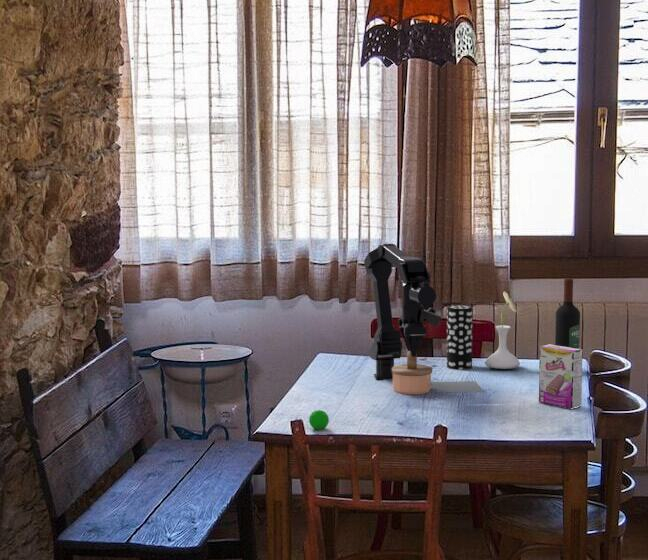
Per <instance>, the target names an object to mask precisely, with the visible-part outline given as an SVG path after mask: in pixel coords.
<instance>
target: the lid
mask: <svg viewBox="0 0 648 560" xmlns="http://www.w3.org/2000/svg"><path fill="white" fill-rule="evenodd" d="M417 354H418V353H417ZM417 354H416V357H412V355H411V352H410V351H408V350H407V352H406V356H407V357H406V359H407V363H405V364H399V365H394V367H392V373H394V374H397V375H403V376H423V375H428V374H431V375H432V374H433V367H432V366H429V365H425V364H418V363H417V362H418V359H417V357H418V355H417Z"/></svg>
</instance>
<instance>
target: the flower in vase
mask: <svg viewBox="0 0 648 560" xmlns="http://www.w3.org/2000/svg"><path fill="white" fill-rule="evenodd" d="M502 295H503V297H504V300H505V305H504V306H503V309H502V311H501V313H500V318H501V319H500V321H499V322H500V323H501V324H500V325H496V326H494V327H495V329H496V331H497V333H498V340H499V343H498V348H497V349H496V350H495V351H494V353H492V354H491V355H489V356H488V357H487V358H486V359H485V362H484V364H485V366H487V367H489V368H491V369H496V370H511V369H512V370H513V369H515V368H518V367H519V366H520V365H521V362H520V360H519V359H518V357H516V356H515V355H514V354H513V353H512V352H510V351H509V350H508V347H507V338H508V333H509V330H510V329H511V326H510V325H505V324H504V322H506V321H507V320H508V317H506V316H504V317H503V315H504V311H505V309H506V307H507V306H508V307H509V308H510V310H511V311H512V312H513V313H517V312H518V310H517V309H516V307H517V306H516V305H515V304H514V303H513V299H512V298H510V297H509V294H508V293H507V292H506V291H503V293H502Z"/></svg>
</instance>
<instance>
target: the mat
mask: <svg viewBox="0 0 648 560" xmlns="http://www.w3.org/2000/svg"><path fill="white" fill-rule="evenodd" d="M431 386H432V387H433V389H434V390H435V391H436V392H435V393H436V394H441V393H447V394H448V393H485V390H484V389H483V388H482V387H481V386H480V385H479V383H478V382H477V381H476V380H474V381H473V380H468V381H467V380H466V381H465V380H464V381H463V380H462V381H461V380H460V381H459V380H457V381H431Z"/></svg>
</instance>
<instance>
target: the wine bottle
mask: <svg viewBox="0 0 648 560" xmlns="http://www.w3.org/2000/svg"><path fill="white" fill-rule="evenodd" d="M573 294H574V279H573V278H564V280H563V303H562V305H560V306H559V307H558V308H557V310H556V311H555V331H554V332H555V336H554V338H555V339H554V345H557V346H563V347H569V348H576V349H580V340H581V339H580V336H581V335H580V334H581V332H580V331H581V312H580V310H579V309H578V308H577V306H575V305H574V301H573V300H574V298H573V297H574V295H573Z"/></svg>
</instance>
